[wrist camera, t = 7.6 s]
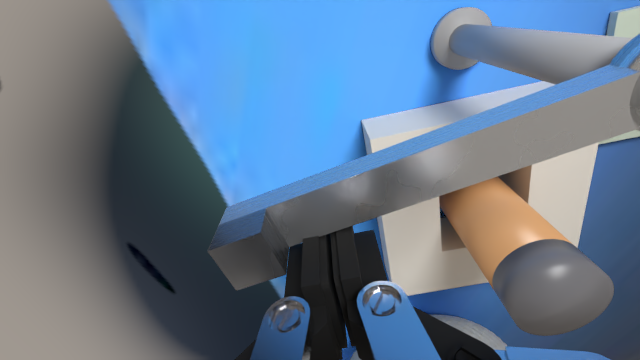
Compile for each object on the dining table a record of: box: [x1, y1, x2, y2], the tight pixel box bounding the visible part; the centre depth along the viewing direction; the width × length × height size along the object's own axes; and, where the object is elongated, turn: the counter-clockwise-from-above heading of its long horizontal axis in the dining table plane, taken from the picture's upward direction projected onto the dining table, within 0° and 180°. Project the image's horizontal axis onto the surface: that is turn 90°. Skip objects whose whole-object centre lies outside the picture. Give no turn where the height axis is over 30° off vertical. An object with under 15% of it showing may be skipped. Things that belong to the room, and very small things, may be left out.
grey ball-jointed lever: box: [208, 34, 640, 291], centre depth 9 cm, size 14×3×2 cm, turn 112°
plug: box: [439, 176, 614, 336], centre depth 21 cm, size 5×5×12 cm
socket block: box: [361, 7, 633, 296], centre depth 19 cm, size 14×20×13 cm
